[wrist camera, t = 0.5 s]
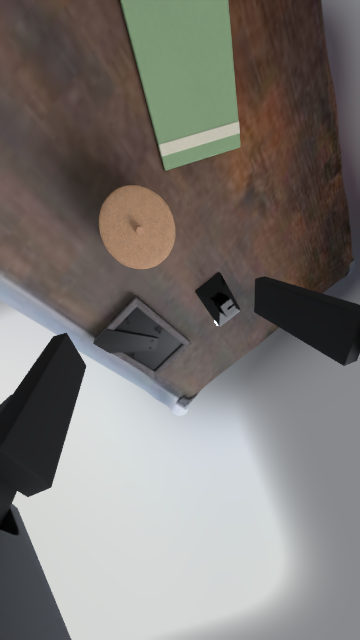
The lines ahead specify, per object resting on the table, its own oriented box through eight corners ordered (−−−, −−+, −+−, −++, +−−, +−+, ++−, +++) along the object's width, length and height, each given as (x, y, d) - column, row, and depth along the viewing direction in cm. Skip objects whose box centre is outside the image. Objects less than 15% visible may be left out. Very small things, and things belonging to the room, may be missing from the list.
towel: (105, -55, 19) (104, -64, 19) (218, -73, 21) (221, -82, 20) (164, 171, 29) (165, 169, 28) (238, 148, 31) (240, 146, 30)
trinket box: (89, 223, 29) (76, 219, 21) (138, 180, 29) (144, 159, 21) (134, 273, 35) (137, 285, 27) (176, 238, 34) (192, 239, 26)
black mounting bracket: (240, 310, 46) (251, 317, 42) (217, 326, 46) (226, 335, 42) (219, 272, 40) (230, 276, 36) (194, 292, 40) (202, 298, 36)
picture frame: (94, 338, 38) (153, 373, 47) (93, 343, 36) (155, 379, 45) (136, 295, 37) (189, 340, 45) (136, 298, 35) (191, 344, 44)
